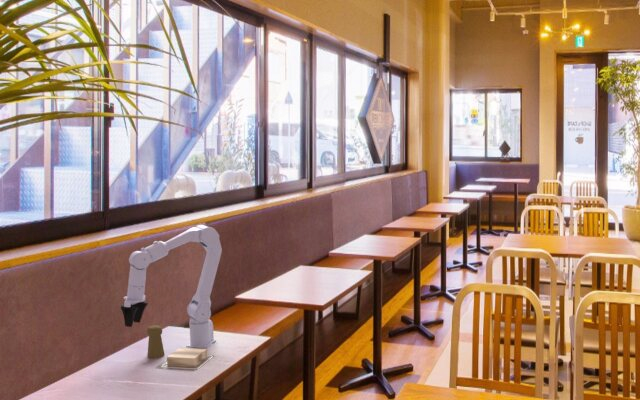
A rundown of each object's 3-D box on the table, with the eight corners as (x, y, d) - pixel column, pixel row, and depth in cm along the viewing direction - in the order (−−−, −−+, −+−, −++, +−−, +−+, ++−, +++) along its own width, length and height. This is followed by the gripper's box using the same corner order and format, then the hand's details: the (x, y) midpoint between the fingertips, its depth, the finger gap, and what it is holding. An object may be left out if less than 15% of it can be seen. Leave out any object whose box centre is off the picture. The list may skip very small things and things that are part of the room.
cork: (160, 359, 231) (158, 328, 230) (144, 359, 232) (142, 328, 231) (167, 354, 237) (166, 323, 236) (151, 353, 238) (150, 323, 237)
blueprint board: (176, 353, 237) (176, 352, 237) (215, 356, 233) (215, 354, 233) (154, 369, 222) (154, 367, 222) (195, 372, 218) (195, 370, 218)
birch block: (180, 356, 233) (180, 347, 233) (207, 357, 231) (206, 349, 231) (167, 365, 224) (166, 356, 224) (194, 367, 221) (194, 358, 221)
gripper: (133, 281, 242) (129, 318, 242) (117, 287, 227) (113, 326, 227) (152, 283, 241) (148, 321, 241) (137, 289, 226) (133, 329, 227)
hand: (132, 324), depth 234 cm, fingers open, 7 cm apart
